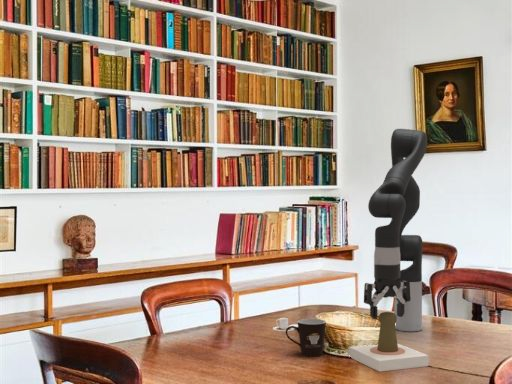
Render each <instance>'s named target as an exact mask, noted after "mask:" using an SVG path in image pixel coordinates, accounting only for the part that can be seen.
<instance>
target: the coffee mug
mask: <svg viewBox="0 0 512 384" xmlns="http://www.w3.org/2000/svg"><path fill="white" fill-rule="evenodd" d="M323 322H324V323H323ZM326 324H327V321H326V320H324V319H321V318H304V319H303V318H301V319H300V320H297V325H298V327H295V326H290V325H289V326H290V327H287V329H285V335H286V337H287V338H288V339H289V341H291V342H293V343H294V344H296V345H298V346H299V347H300V352H301V353H300V354H301V355H302V356H304V357H310V358H314V357H315V358H316V357H321V356H322V355H323V351H324V344H325V343H324V341H325V333H326ZM290 328H295V331H296V332H297V333H298V336H299V338H298V339H299V342H298V341H296V340H295V339H293V338H291V337H290V336H289V335H288V332H289V331H288V330H291V329H290Z"/></svg>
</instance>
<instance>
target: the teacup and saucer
mask: <svg viewBox="0 0 512 384" xmlns="http://www.w3.org/2000/svg"><path fill="white" fill-rule="evenodd" d="M278 322H279V324H278ZM275 323H276V325H277V326H275V327H272V330H273V331H276V332H278V331H279V332H283V331H286V329H287V328H288V327H290V326H295V327H298V323H296V324H295V323H294V324H290V325H289V318H288V317H280V318H278V319H276V321H275ZM279 328H280V329H279ZM290 331H296V329H295V328H290V329H289V330H288V331H287V332H290Z"/></svg>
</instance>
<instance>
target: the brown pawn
mask: <svg viewBox="0 0 512 384" xmlns="http://www.w3.org/2000/svg"><path fill="white" fill-rule="evenodd" d="M378 315H379V316H378V321H379V323H380V325H379V332H378V333H379V334H378V341H377V344H378V348H377V350H378V351H381V352H397V351H398V344H399V343H398V339H397V329H395V323H396V321H397V317H396V315H395V314H394V312H391V311H384V312H380V313H379V314H378ZM397 343H398V344H397Z"/></svg>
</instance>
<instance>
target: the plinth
mask: <svg viewBox="0 0 512 384" xmlns="http://www.w3.org/2000/svg"><path fill="white" fill-rule="evenodd" d="M376 344H377V345H372V344H367V345H368V346H362V345H353V346H348V356H349V355H350V356H351V359H352V360H355V361H357V362H359V363H360V364H362V365H365V366H366V367H369V368H371V369H373V370H375V371H377V372H381V373H382V372H388V371H397V370H405V369H414V368H415V369H416V368H424V367H430V366H429V363H430V361H429V354H426V353H424V352H420V351H417V350H416V349H413V348H410V347H407V346H405V345H403V344H400V343H398V342H397V344H398V351H397V352H381V351H378V350H377V348H378V343H376Z"/></svg>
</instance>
